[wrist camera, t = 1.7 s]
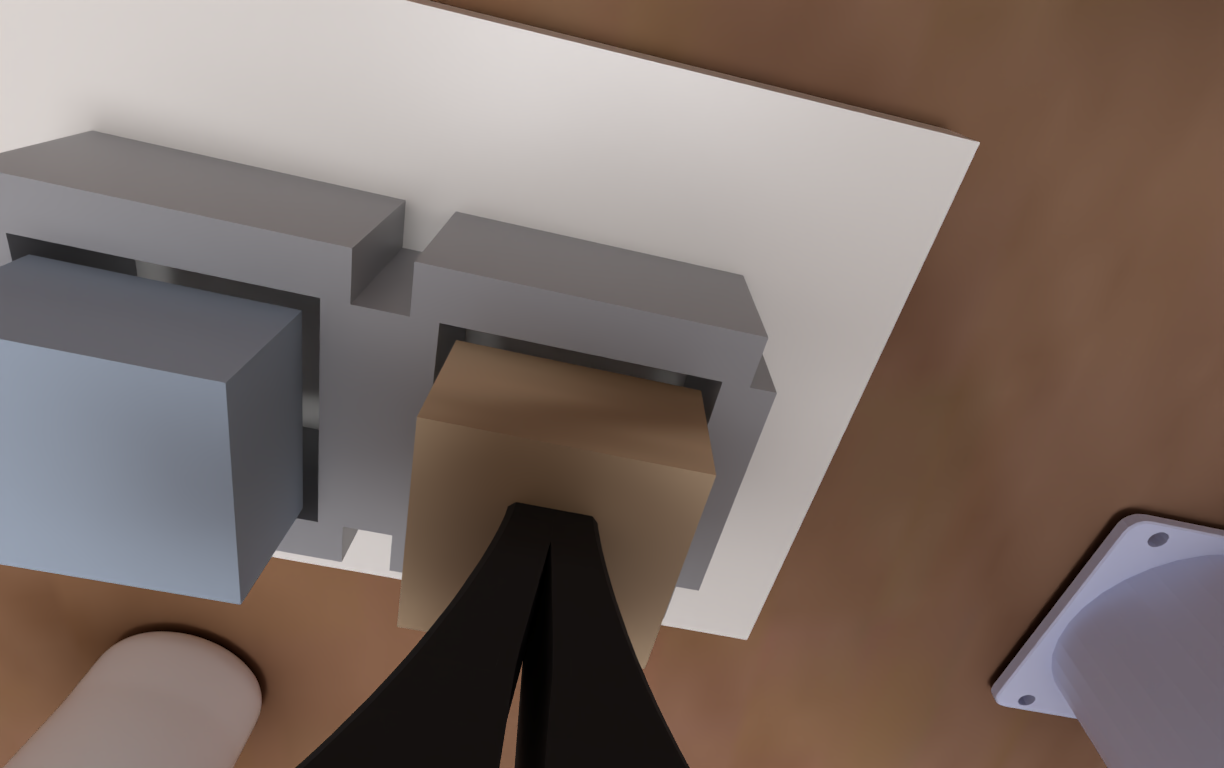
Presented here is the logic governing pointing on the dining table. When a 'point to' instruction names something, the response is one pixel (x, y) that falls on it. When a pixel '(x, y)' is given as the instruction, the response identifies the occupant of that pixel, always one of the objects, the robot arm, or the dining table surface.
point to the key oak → (554, 475)
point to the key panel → (483, 231)
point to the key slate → (145, 429)
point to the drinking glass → (151, 709)
